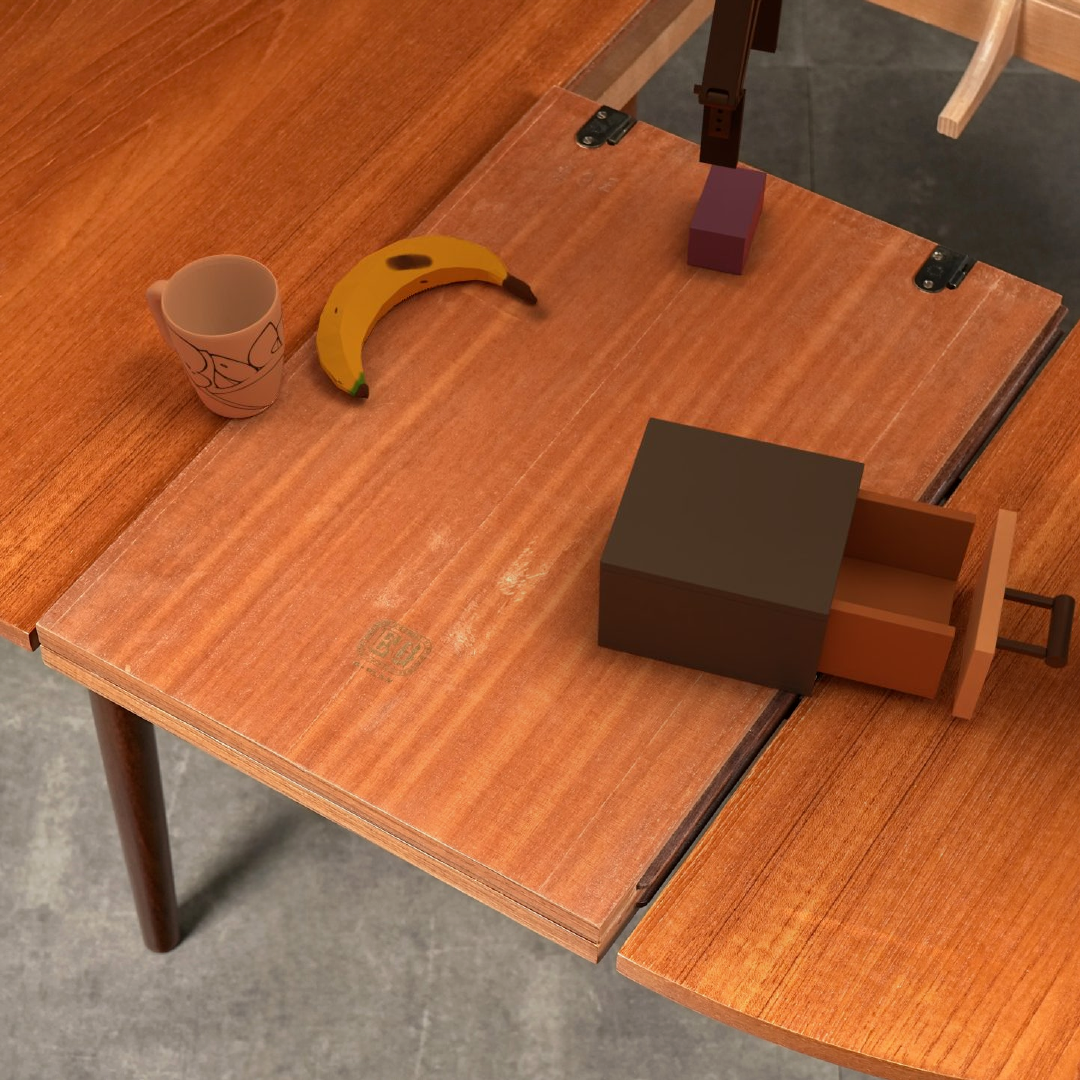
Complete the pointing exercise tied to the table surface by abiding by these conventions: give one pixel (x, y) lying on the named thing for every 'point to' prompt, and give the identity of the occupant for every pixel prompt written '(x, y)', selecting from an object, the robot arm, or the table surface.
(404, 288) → the banana
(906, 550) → the drawer
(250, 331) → the mug
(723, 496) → the cabinet
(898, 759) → the table surface
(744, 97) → the robot arm
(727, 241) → the purple block
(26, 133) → the table surface
